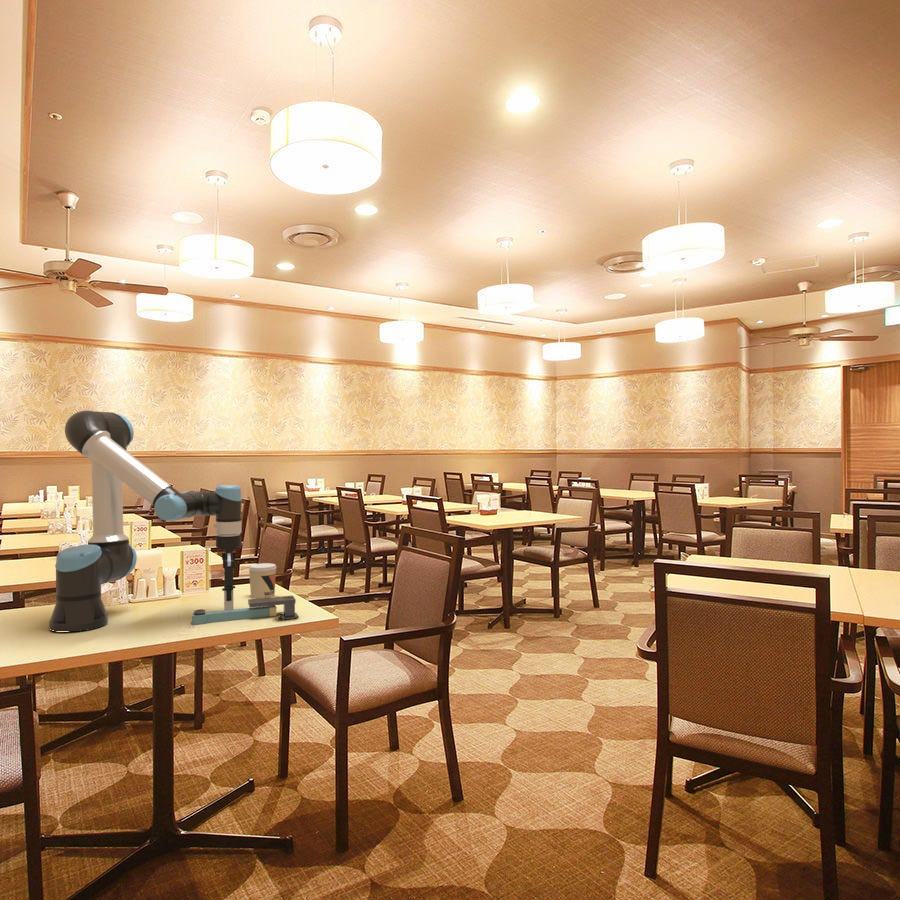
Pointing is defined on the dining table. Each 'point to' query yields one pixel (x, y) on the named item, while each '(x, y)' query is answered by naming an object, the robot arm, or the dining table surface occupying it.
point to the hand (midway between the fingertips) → (228, 610)
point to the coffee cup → (262, 580)
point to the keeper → (286, 600)
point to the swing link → (234, 614)
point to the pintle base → (199, 612)
